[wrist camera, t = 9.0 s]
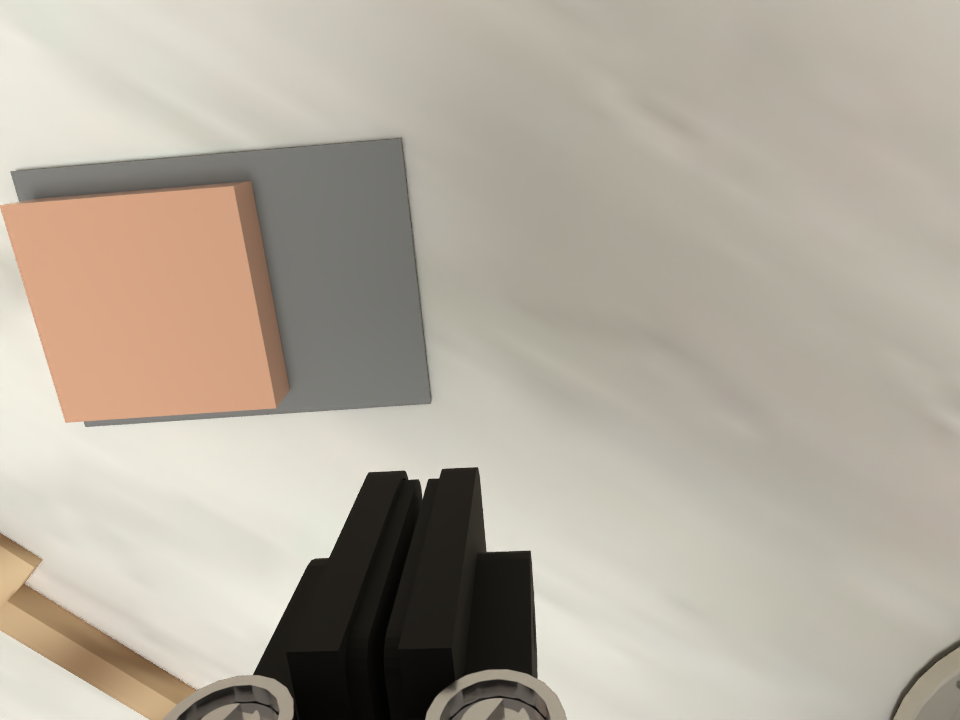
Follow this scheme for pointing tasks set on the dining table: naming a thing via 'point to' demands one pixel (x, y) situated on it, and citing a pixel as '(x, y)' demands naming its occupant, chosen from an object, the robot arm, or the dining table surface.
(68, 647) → the wooden turner
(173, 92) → the dining table surface
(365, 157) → the mat
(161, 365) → the tile
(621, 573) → the dining table surface
